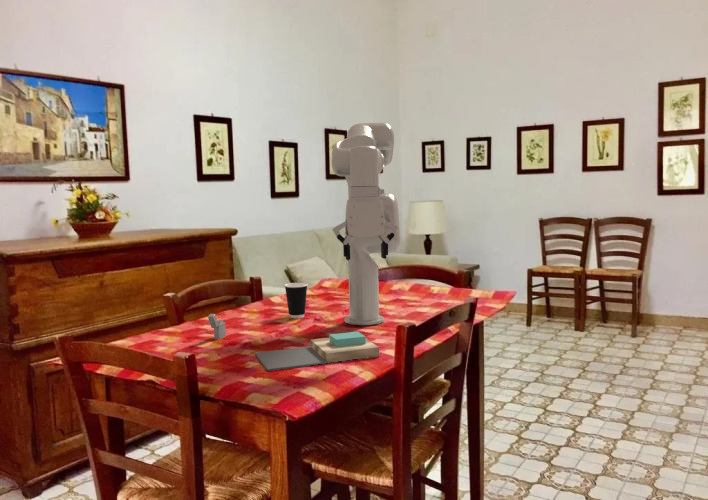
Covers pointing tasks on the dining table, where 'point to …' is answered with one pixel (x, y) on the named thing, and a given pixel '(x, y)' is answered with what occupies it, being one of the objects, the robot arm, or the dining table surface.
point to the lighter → (217, 327)
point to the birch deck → (343, 350)
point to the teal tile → (347, 339)
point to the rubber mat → (290, 358)
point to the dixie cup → (296, 299)
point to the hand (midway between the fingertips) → (366, 258)
